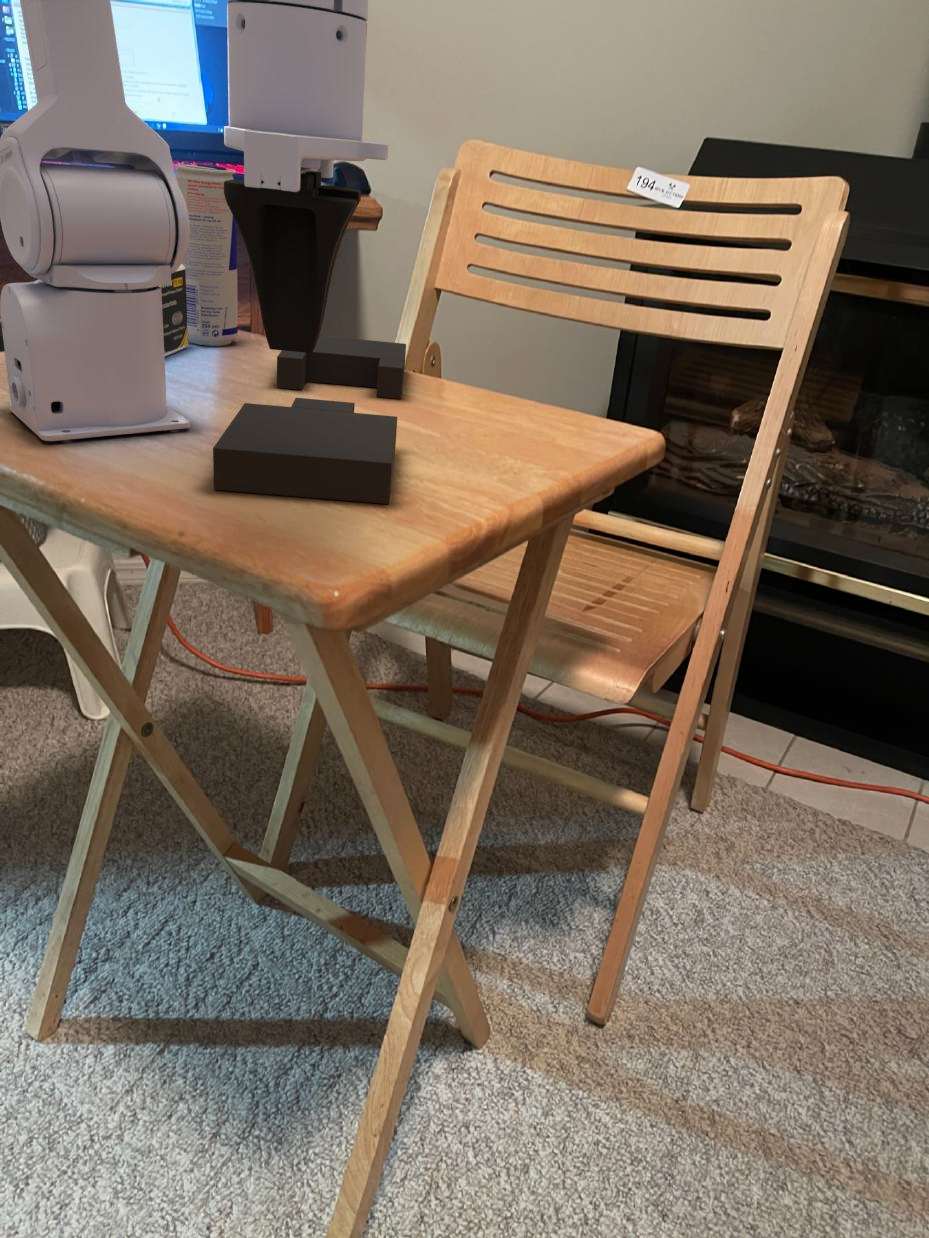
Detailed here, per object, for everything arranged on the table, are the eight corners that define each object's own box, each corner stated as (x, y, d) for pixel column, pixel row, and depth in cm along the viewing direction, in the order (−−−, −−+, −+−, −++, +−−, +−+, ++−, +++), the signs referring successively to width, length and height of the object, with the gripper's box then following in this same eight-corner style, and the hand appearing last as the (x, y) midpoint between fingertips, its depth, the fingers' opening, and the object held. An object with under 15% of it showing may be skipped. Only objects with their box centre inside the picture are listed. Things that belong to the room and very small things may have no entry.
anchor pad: (401, 399, 76) (403, 368, 75) (276, 388, 75) (276, 356, 74) (404, 371, 85) (406, 343, 84) (293, 361, 84) (293, 333, 83)
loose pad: (389, 504, 54) (391, 463, 53) (213, 490, 53) (212, 447, 52) (396, 442, 65) (398, 406, 64) (251, 429, 64) (250, 393, 63)
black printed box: (153, 363, 78) (145, 207, 73) (73, 352, 79) (59, 197, 74) (189, 347, 85) (184, 203, 79) (115, 337, 85) (104, 194, 80)
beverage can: (245, 339, 90) (243, 167, 83) (227, 349, 86) (224, 168, 79) (193, 333, 90) (187, 161, 83) (173, 343, 86) (165, 162, 79)
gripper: (387, 4, 33) (367, 391, 39) (399, 42, 46) (383, 328, 52) (181, -21, 32) (194, 376, 38) (253, 24, 45) (254, 316, 51)
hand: (292, 348), depth 45 cm, fingers closed
